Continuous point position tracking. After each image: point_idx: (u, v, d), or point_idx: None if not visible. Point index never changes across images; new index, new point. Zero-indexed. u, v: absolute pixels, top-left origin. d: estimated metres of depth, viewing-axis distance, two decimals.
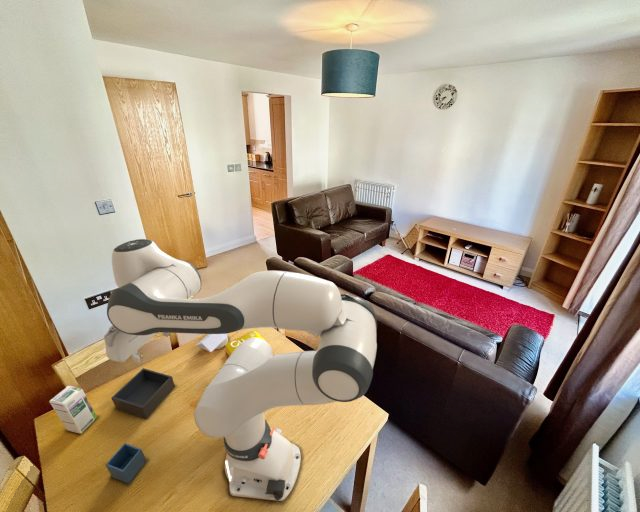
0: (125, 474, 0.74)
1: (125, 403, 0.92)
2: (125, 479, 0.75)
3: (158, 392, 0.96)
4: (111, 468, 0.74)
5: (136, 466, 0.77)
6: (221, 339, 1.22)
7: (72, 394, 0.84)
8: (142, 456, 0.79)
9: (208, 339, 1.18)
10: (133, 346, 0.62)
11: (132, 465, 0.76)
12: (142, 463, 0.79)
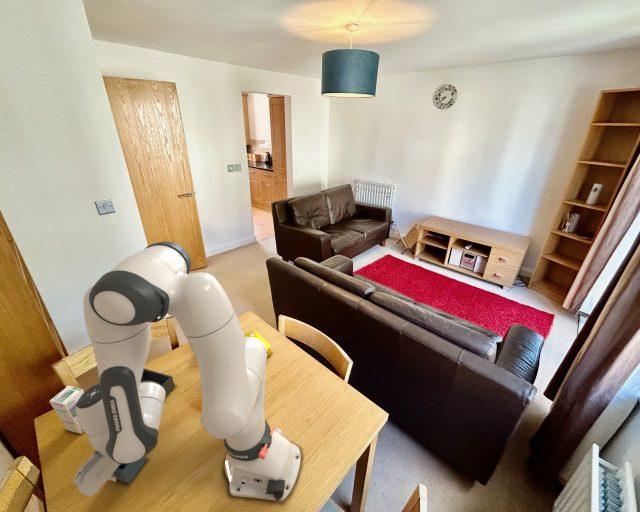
0: (125, 474, 0.74)
1: None
2: (125, 479, 0.75)
3: None
4: None
5: (136, 466, 0.77)
6: None
7: (72, 394, 0.84)
8: None
9: None
10: (103, 477, 0.69)
11: (132, 465, 0.76)
12: (142, 463, 0.79)
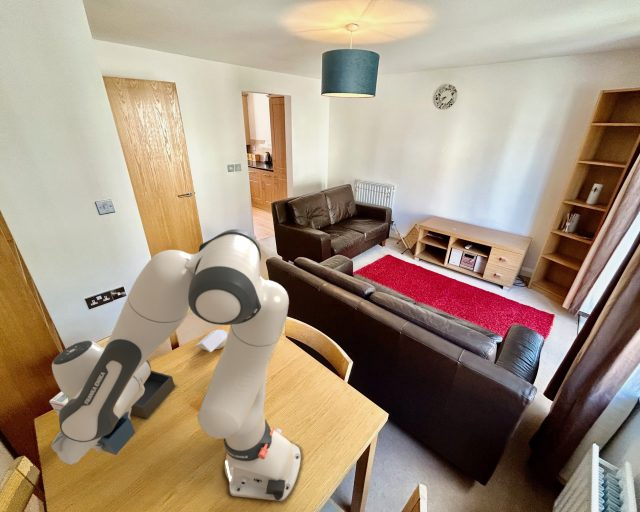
0: (111, 444, 0.68)
1: None
2: (111, 450, 0.69)
3: (158, 392, 0.96)
4: None
5: (124, 437, 0.72)
6: (221, 339, 1.22)
7: None
8: (130, 426, 0.73)
9: (208, 339, 1.18)
10: (86, 445, 0.63)
11: (119, 435, 0.70)
12: (131, 434, 0.74)
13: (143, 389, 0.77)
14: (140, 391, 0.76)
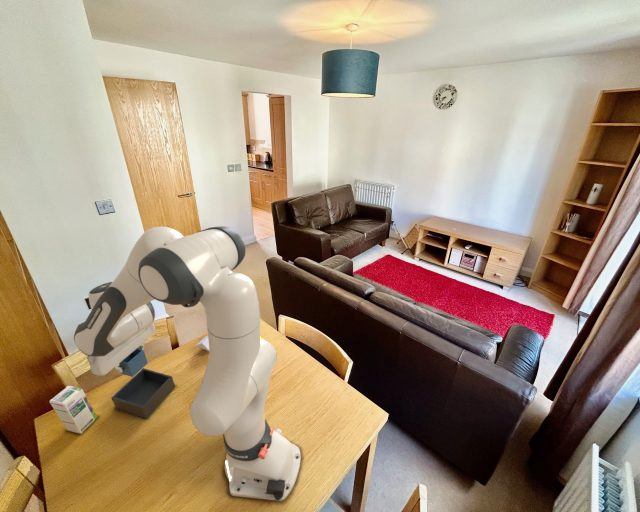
0: (129, 367, 0.86)
1: (125, 403, 0.92)
2: (129, 372, 0.87)
3: (158, 392, 0.96)
4: None
5: (139, 364, 0.89)
6: None
7: (72, 394, 0.84)
8: (144, 357, 0.91)
9: (208, 339, 1.18)
10: (111, 363, 0.81)
11: (135, 361, 0.88)
12: (144, 363, 0.92)
13: (154, 329, 0.95)
14: (152, 331, 0.94)
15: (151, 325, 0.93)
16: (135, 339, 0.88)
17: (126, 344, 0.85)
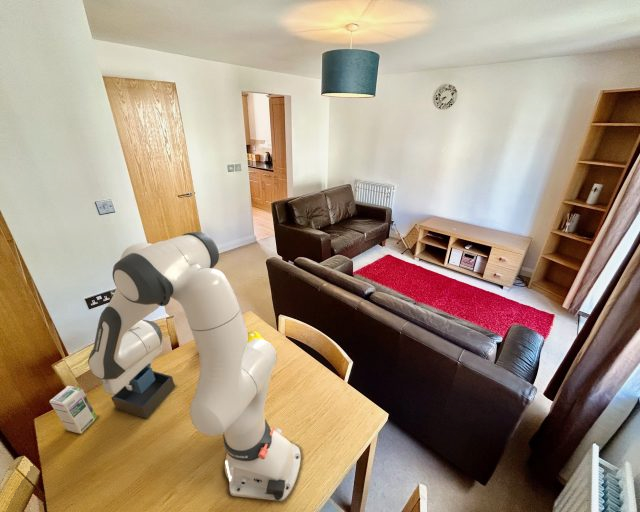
0: (139, 384, 0.92)
1: (125, 403, 0.92)
2: (139, 389, 0.93)
3: (158, 392, 0.96)
4: None
5: (147, 381, 0.95)
6: None
7: (72, 394, 0.84)
8: (152, 374, 0.97)
9: None
10: (122, 382, 0.87)
11: (144, 379, 0.94)
12: (152, 380, 0.97)
13: (161, 348, 1.01)
14: (159, 349, 1.00)
15: None
16: (144, 358, 0.94)
17: (136, 363, 0.91)
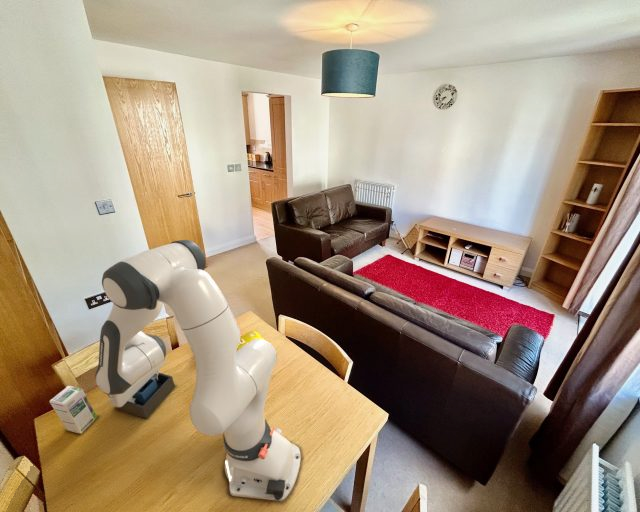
0: (143, 396, 0.94)
1: (125, 403, 0.92)
2: (143, 401, 0.95)
3: (158, 392, 0.96)
4: None
5: (151, 393, 0.98)
6: None
7: (72, 394, 0.84)
8: (156, 386, 0.99)
9: None
10: (128, 395, 0.89)
11: (148, 391, 0.96)
12: None
13: (165, 360, 1.03)
14: (163, 361, 1.02)
15: None
16: None
17: None
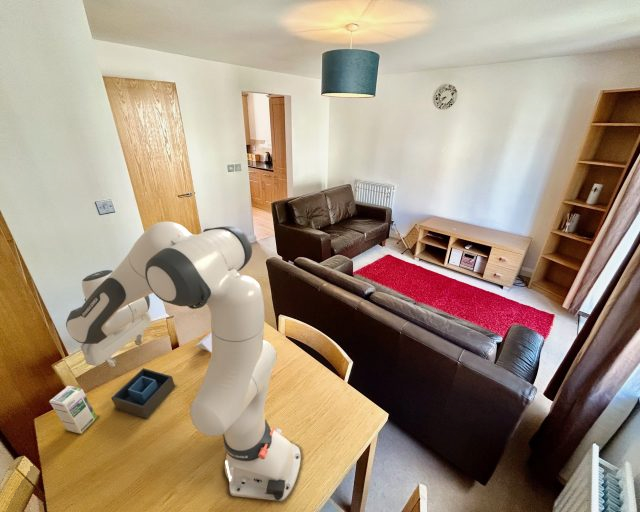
0: (143, 396, 0.94)
1: (125, 403, 0.92)
2: (143, 401, 0.95)
3: (158, 392, 0.96)
4: (132, 392, 0.95)
5: (151, 393, 0.98)
6: None
7: (72, 394, 0.84)
8: (156, 386, 0.99)
9: (208, 339, 1.18)
10: (106, 353, 0.80)
11: (148, 391, 0.96)
12: None
13: (150, 321, 0.93)
14: (148, 322, 0.93)
15: (147, 316, 0.92)
16: (131, 329, 0.87)
17: (121, 334, 0.84)
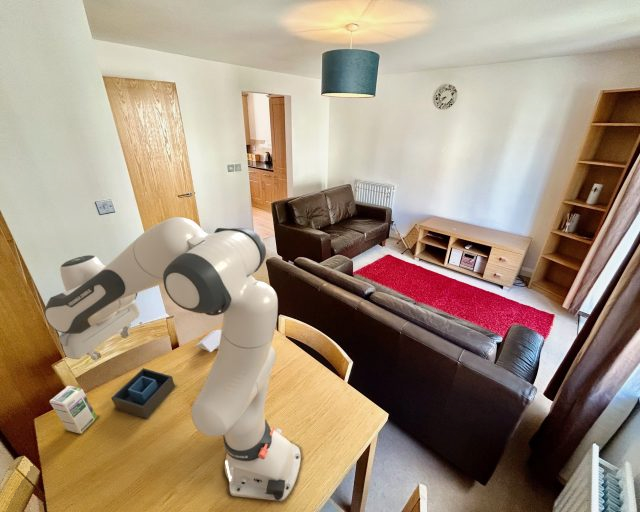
0: (143, 396, 0.94)
1: (125, 403, 0.92)
2: (143, 401, 0.95)
3: (158, 392, 0.96)
4: (132, 392, 0.95)
5: (151, 393, 0.98)
6: None
7: (72, 394, 0.84)
8: (156, 386, 0.99)
9: (208, 339, 1.18)
10: (88, 345, 0.73)
11: (148, 391, 0.96)
12: None
13: (138, 312, 0.87)
14: (135, 313, 0.87)
15: (134, 307, 0.85)
16: (116, 321, 0.81)
17: (105, 326, 0.78)
